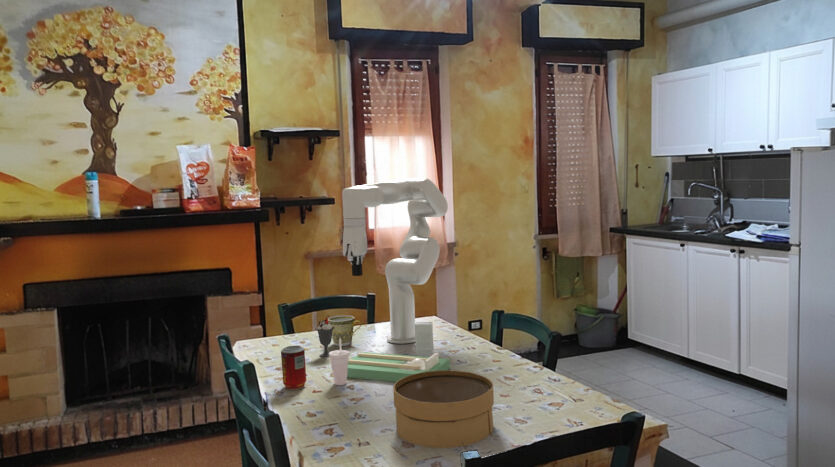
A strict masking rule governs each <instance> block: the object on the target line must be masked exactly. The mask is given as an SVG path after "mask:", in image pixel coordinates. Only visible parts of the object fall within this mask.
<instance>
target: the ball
mask: <svg viewBox="0 0 835 467" xmlns="http://www.w3.org/2000/svg"><path fill="white" fill-rule="evenodd" d="M410 365H418V366H420V367H424V366H425V362H424V361H423V360H422V359H414V360H413V361H412V362H411V364H410Z"/></svg>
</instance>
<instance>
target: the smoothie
mask: <svg viewBox="0 0 835 467" xmlns="http://www.w3.org/2000/svg"><path fill="white" fill-rule="evenodd" d="M339 344H340V346H339V349H336V350H331V351H329V357H328V358H329V359H330V365H331V370H332V375H333V376H332V377H333V382H334V385H336V386H343V385H346V384H347V382H348V377H347V372H348V359H349V357H350V356H351V355H350V351H349V350H347V349H343V348H342V346H341V339H339Z"/></svg>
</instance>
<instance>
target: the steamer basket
mask: <svg viewBox="0 0 835 467" xmlns="http://www.w3.org/2000/svg"><path fill="white" fill-rule="evenodd" d="M392 392H393V405H394V408H395V420H396V422H395V423H396V433H397V436H399V438H400V439H401V440H403V441H405V442H408V443H410V444H413V445H415V446H420V447H426V448H432V449H433V448H437V449H444V448H447V449H449V448H460V447H466V446H469V445H474V444H476V443H479V442H481V441H483V440H485V439H487V438H488V437H489V436H491V435H492V434H493V431H494V416H493V406H494V403H495V398H494V383H493V381H492V380H490V379H489V378H487V377H486V376H483V375H481V374H477V373H474V372H470V371H461V370H447V371H446V370H442V371H428V372H422V373H417V374H413V375H409V376H407V377H404V378H402V379H400V380H399V381H397V382H394V385H393V390H392Z"/></svg>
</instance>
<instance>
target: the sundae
mask: <svg viewBox="0 0 835 467" xmlns="http://www.w3.org/2000/svg"><path fill="white" fill-rule="evenodd" d="M328 317H330V315H329V314H327V316H326V317H325V319H324V320H322V321H321V320H319V321H318V327H315V331H317V333H318V339H319V343H320V344H321V346H323V347H324V349H323V350H324V352H323V353H322V354H319V357H320V358H330V357H329V353H330V351H329V350H328V349H329V348H328V346H329V345H330V344H331V343H332V341H333V339H332V331H333V329H334V328H335V327H333V326H331V325H330V323H329V321H328V319H329V318H328Z"/></svg>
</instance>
